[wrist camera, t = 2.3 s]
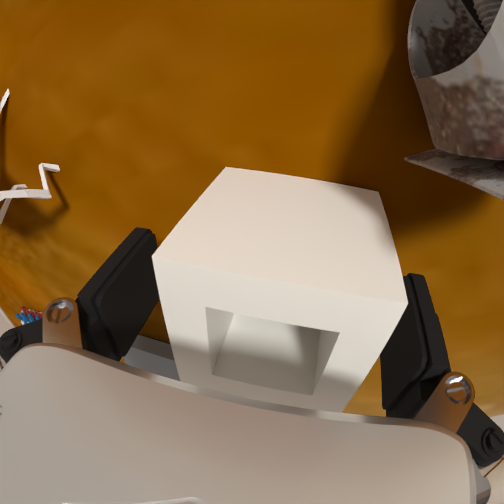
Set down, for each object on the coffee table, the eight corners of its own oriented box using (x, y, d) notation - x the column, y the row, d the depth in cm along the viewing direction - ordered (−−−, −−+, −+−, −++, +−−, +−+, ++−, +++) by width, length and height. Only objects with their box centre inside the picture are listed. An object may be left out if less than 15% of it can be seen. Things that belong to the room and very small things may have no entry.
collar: (378, 191, 11) (407, 303, 6) (344, 303, 14) (339, 415, 10) (225, 167, 12) (151, 256, 7) (225, 281, 15) (180, 382, 11)
